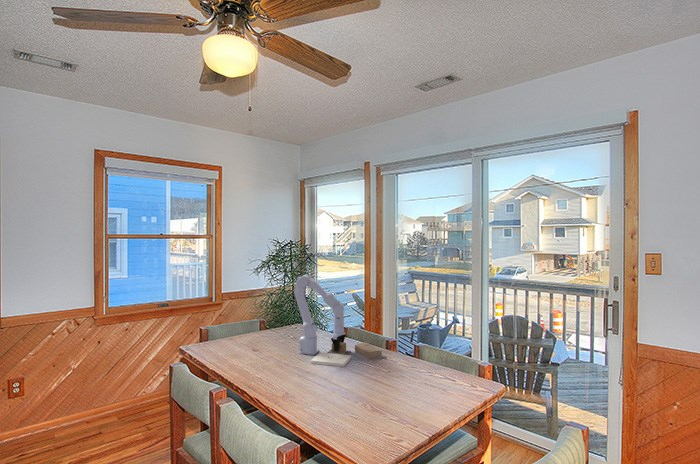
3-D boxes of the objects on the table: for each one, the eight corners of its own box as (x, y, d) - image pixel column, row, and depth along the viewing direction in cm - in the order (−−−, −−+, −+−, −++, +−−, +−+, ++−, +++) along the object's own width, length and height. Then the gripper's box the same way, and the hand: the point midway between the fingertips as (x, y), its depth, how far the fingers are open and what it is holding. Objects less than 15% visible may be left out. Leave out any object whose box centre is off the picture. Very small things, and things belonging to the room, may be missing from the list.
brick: (382, 357, 203) (382, 349, 204) (370, 360, 199) (370, 351, 199) (366, 350, 218) (366, 342, 218) (354, 352, 213) (353, 344, 213)
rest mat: (326, 354, 208) (326, 353, 208) (330, 350, 216) (330, 349, 216) (347, 356, 205) (347, 355, 205) (350, 352, 212) (350, 351, 212)
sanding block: (331, 353, 209) (331, 344, 209) (334, 350, 214) (334, 341, 214) (343, 354, 207) (343, 345, 207) (346, 351, 212) (346, 342, 212)
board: (310, 363, 194) (310, 360, 194) (320, 355, 207) (320, 352, 207) (343, 366, 189) (343, 363, 189) (351, 358, 202) (351, 355, 202)
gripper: (341, 328, 202) (341, 353, 202) (349, 322, 216) (349, 345, 216) (329, 327, 204) (329, 352, 204) (337, 321, 218) (337, 344, 218)
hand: (338, 348), depth 210 cm, fingers open, 7 cm apart
